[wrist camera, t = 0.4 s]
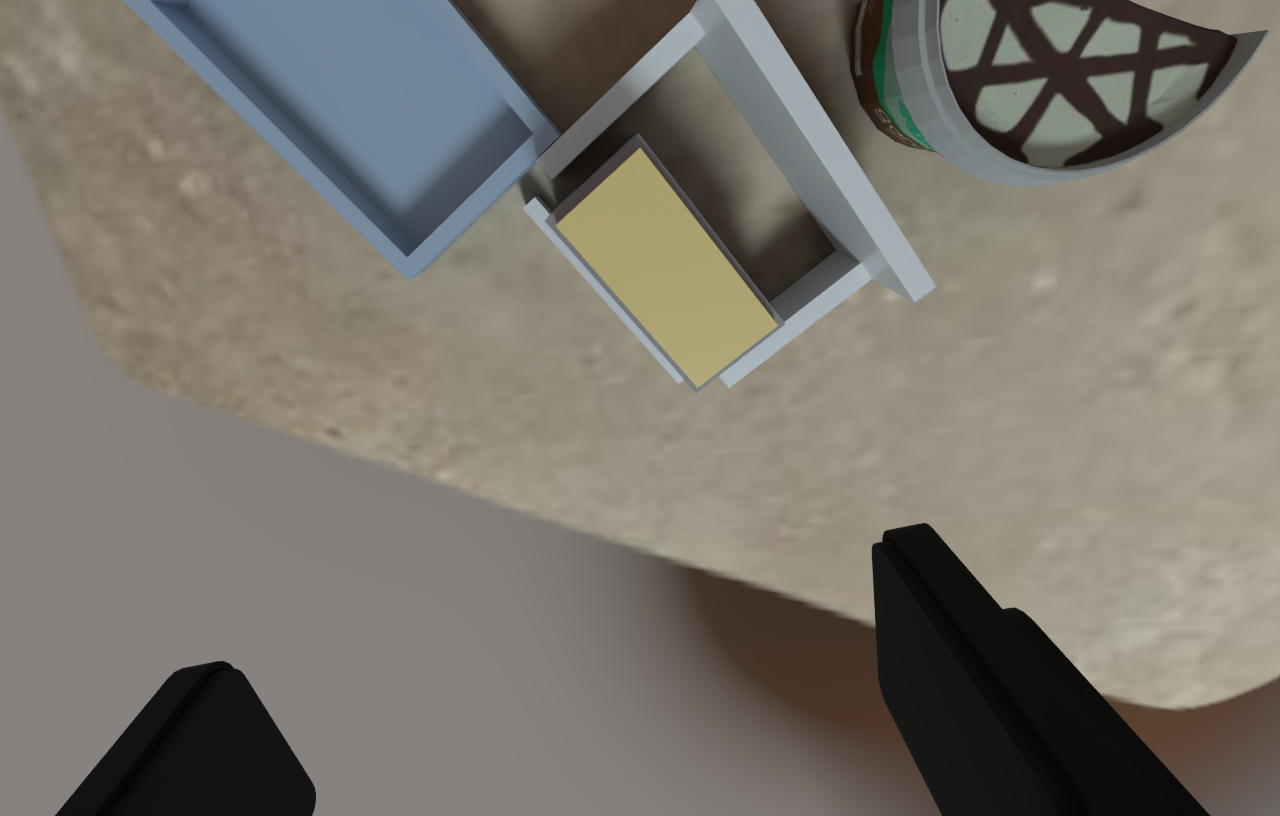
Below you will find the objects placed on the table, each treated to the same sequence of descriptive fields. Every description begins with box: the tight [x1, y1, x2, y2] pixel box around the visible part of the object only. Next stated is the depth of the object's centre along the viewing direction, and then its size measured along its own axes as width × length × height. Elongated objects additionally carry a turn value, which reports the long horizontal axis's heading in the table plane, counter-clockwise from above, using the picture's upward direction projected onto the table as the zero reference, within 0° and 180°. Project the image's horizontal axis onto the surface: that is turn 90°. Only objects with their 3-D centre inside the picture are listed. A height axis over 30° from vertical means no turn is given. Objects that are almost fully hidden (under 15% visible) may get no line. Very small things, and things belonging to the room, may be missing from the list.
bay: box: [523, 0, 936, 388], centre depth 27 cm, size 12×14×8 cm
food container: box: [851, 0, 1270, 187], centre depth 24 cm, size 12×6×10 cm, turn 77°
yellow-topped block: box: [545, 133, 785, 393], centre depth 28 cm, size 5×10×7 cm, turn 40°
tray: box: [123, 0, 562, 281], centre depth 26 cm, size 10×15×3 cm, turn 40°
